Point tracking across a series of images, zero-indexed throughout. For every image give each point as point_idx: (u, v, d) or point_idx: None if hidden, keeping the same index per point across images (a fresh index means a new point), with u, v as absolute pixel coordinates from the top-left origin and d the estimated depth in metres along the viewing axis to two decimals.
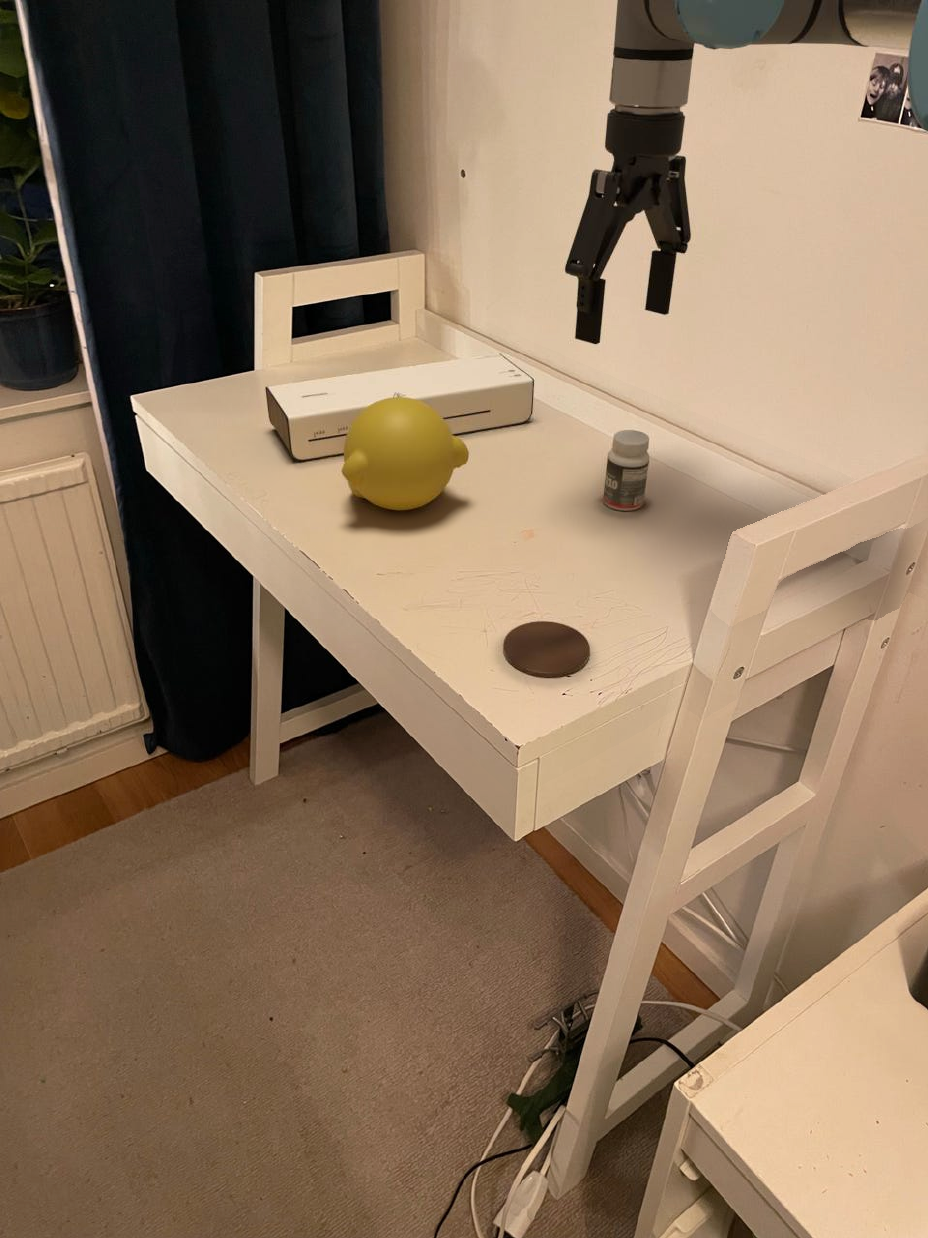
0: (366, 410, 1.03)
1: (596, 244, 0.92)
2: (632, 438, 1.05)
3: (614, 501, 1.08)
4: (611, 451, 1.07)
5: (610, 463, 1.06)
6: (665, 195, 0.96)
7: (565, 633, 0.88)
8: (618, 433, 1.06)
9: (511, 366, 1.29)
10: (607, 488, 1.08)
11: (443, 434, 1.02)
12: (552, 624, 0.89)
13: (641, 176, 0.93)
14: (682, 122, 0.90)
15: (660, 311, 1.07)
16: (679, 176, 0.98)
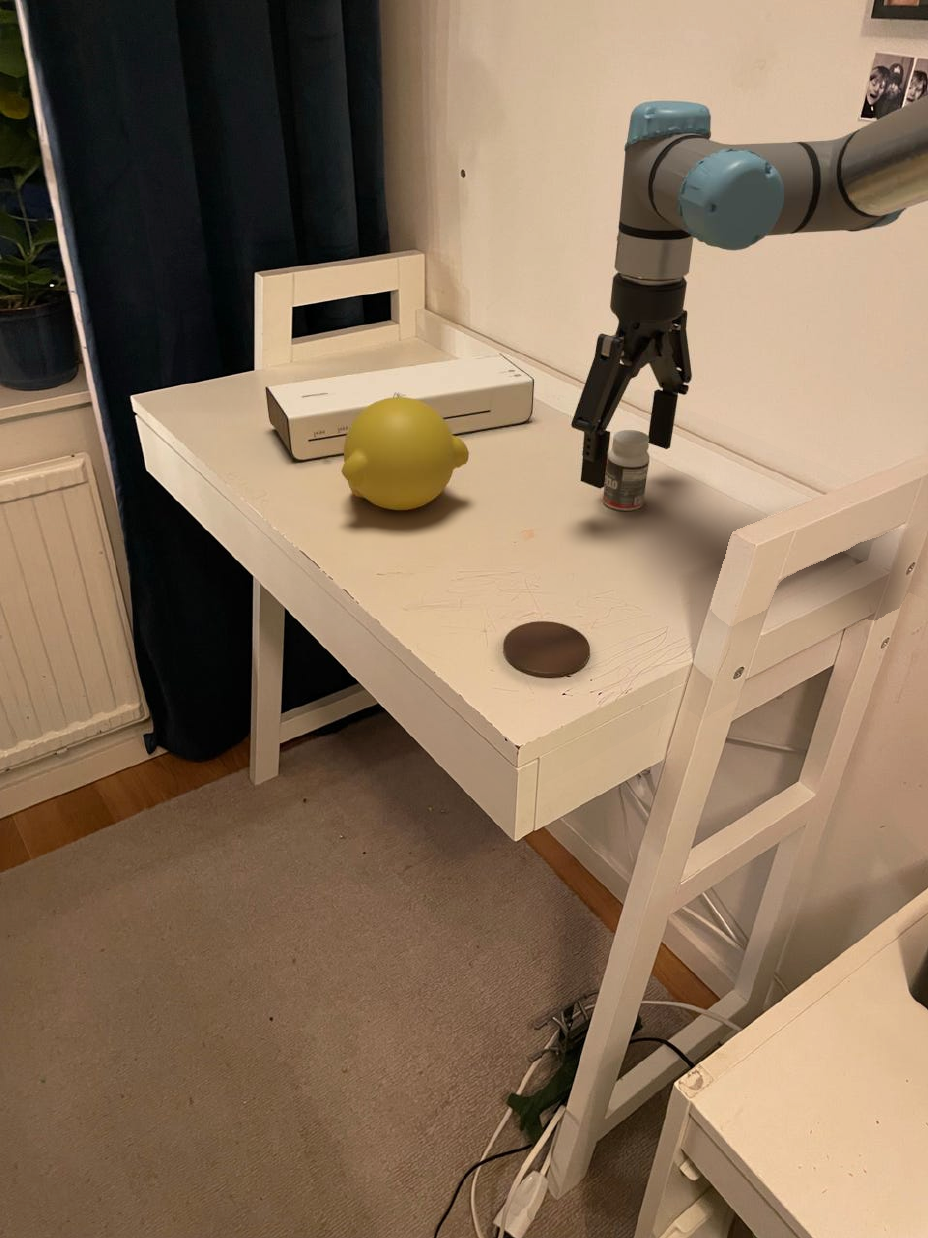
0: (366, 410, 1.03)
1: (601, 404, 0.96)
2: (632, 438, 1.05)
3: (614, 501, 1.08)
4: (611, 451, 1.07)
5: (610, 463, 1.06)
6: (667, 349, 1.01)
7: (565, 633, 0.88)
8: (618, 433, 1.06)
9: (511, 366, 1.29)
10: (607, 488, 1.08)
11: (443, 434, 1.02)
12: (552, 624, 0.89)
13: (644, 336, 0.97)
14: (684, 290, 0.94)
15: (662, 445, 1.11)
16: (681, 328, 1.02)
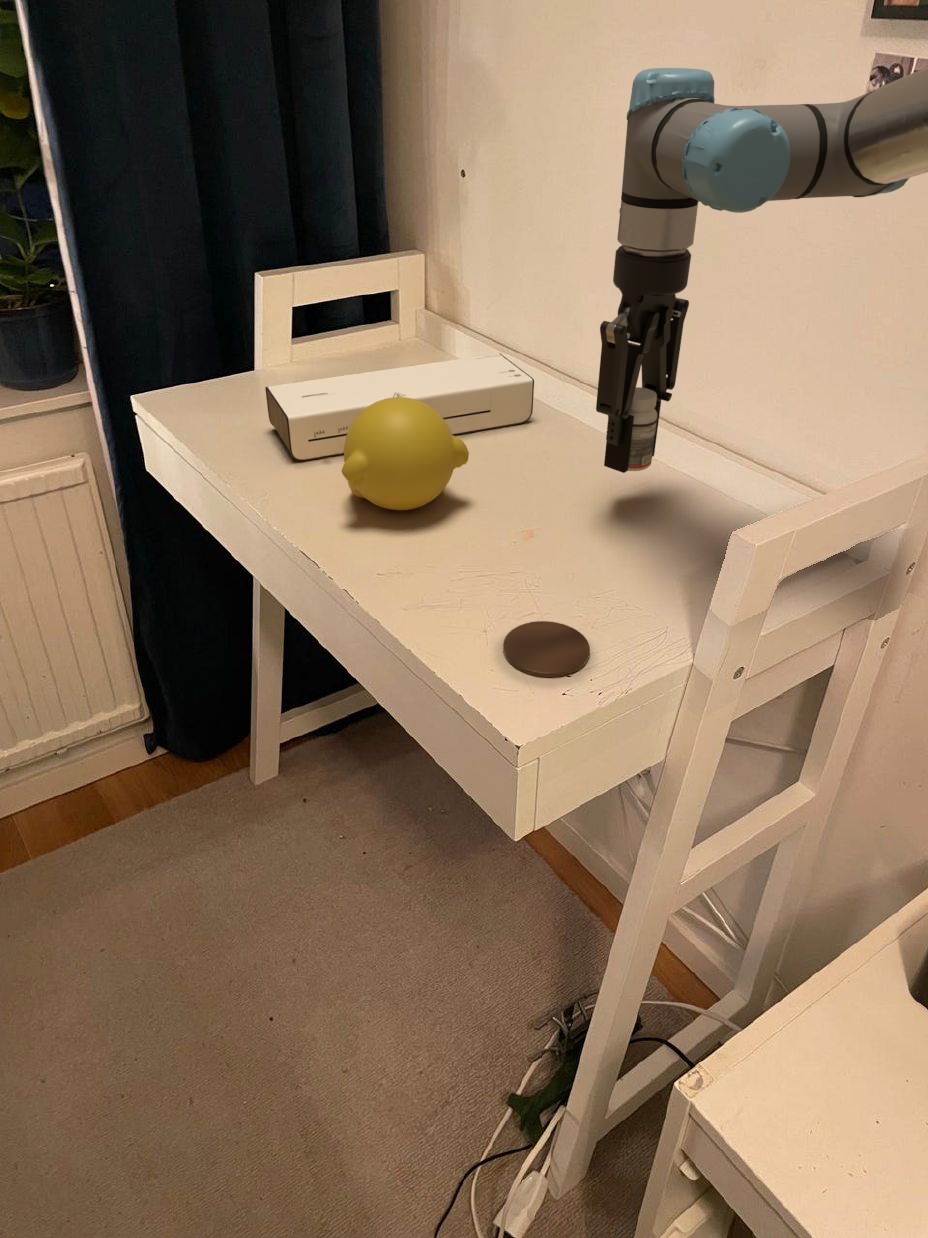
0: (366, 410, 1.03)
1: (620, 388, 0.97)
2: (639, 395, 1.02)
3: None
4: None
5: None
6: (667, 330, 0.99)
7: (565, 633, 0.88)
8: None
9: (511, 366, 1.29)
10: None
11: (443, 434, 1.02)
12: (552, 624, 0.89)
13: (647, 313, 0.95)
14: (688, 261, 0.93)
15: None
16: (680, 316, 1.01)
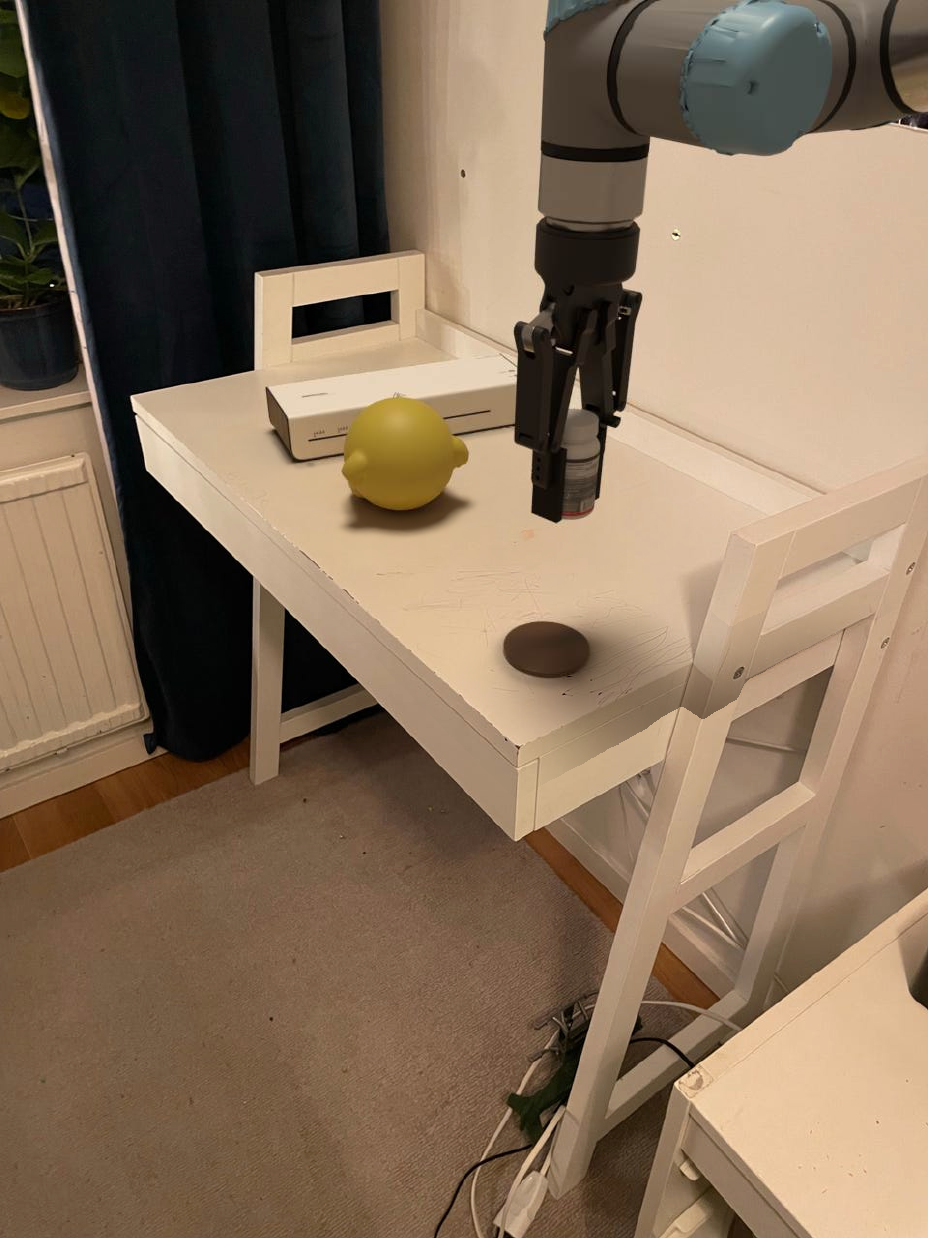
0: (366, 410, 1.03)
1: (544, 413, 0.71)
2: (574, 420, 0.76)
3: None
4: None
5: None
6: (610, 334, 0.72)
7: (565, 633, 0.88)
8: None
9: (511, 366, 1.29)
10: None
11: (443, 434, 1.02)
12: (552, 624, 0.89)
13: (580, 310, 0.69)
14: (636, 239, 0.66)
15: None
16: (630, 315, 0.74)
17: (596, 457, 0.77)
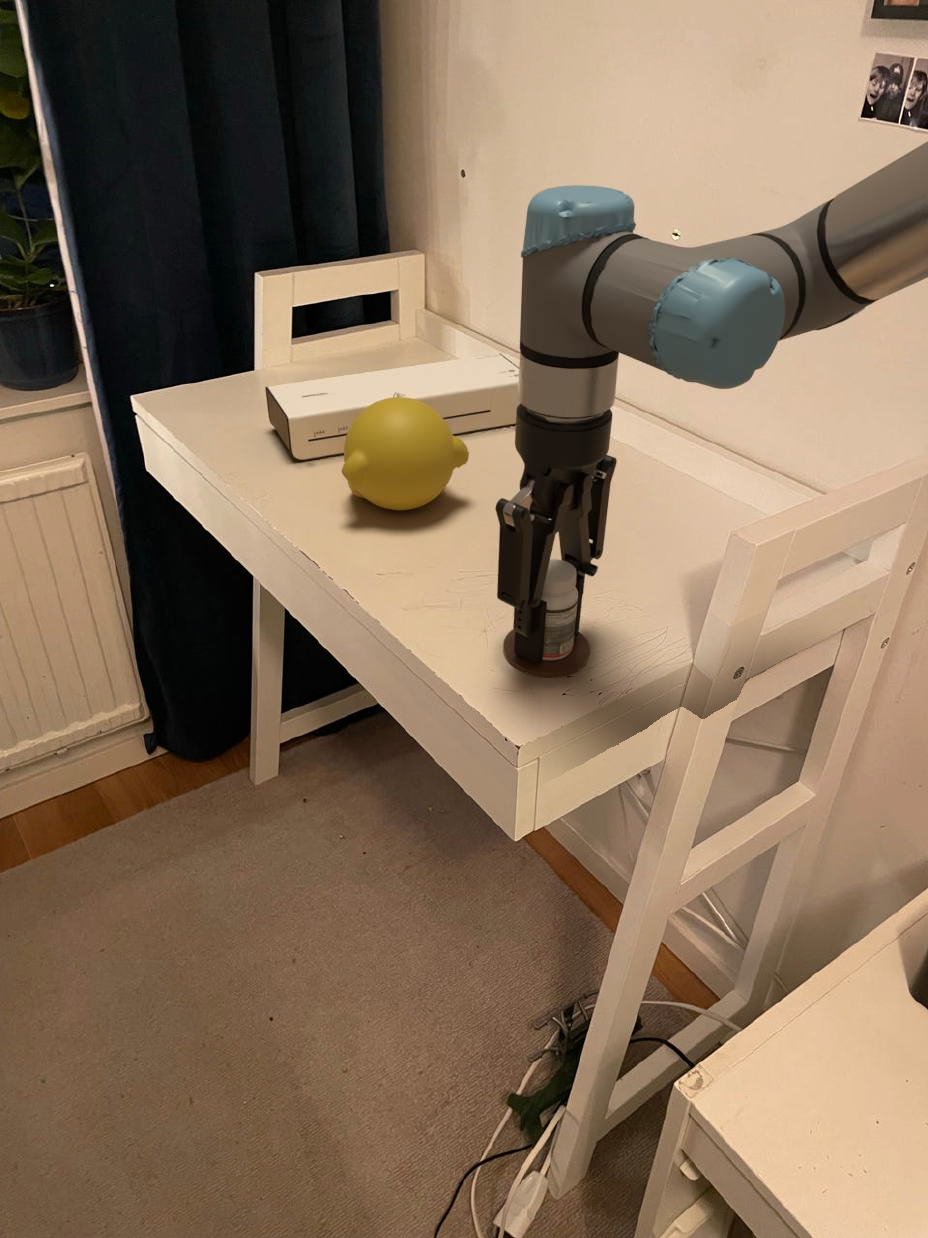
0: (366, 410, 1.03)
1: (524, 577, 0.76)
2: (554, 573, 0.81)
3: None
4: None
5: None
6: (586, 500, 0.78)
7: None
8: None
9: (511, 366, 1.29)
10: None
11: (443, 434, 1.02)
12: None
13: (557, 486, 0.74)
14: (608, 426, 0.72)
15: None
16: (605, 478, 0.80)
17: (574, 606, 0.82)
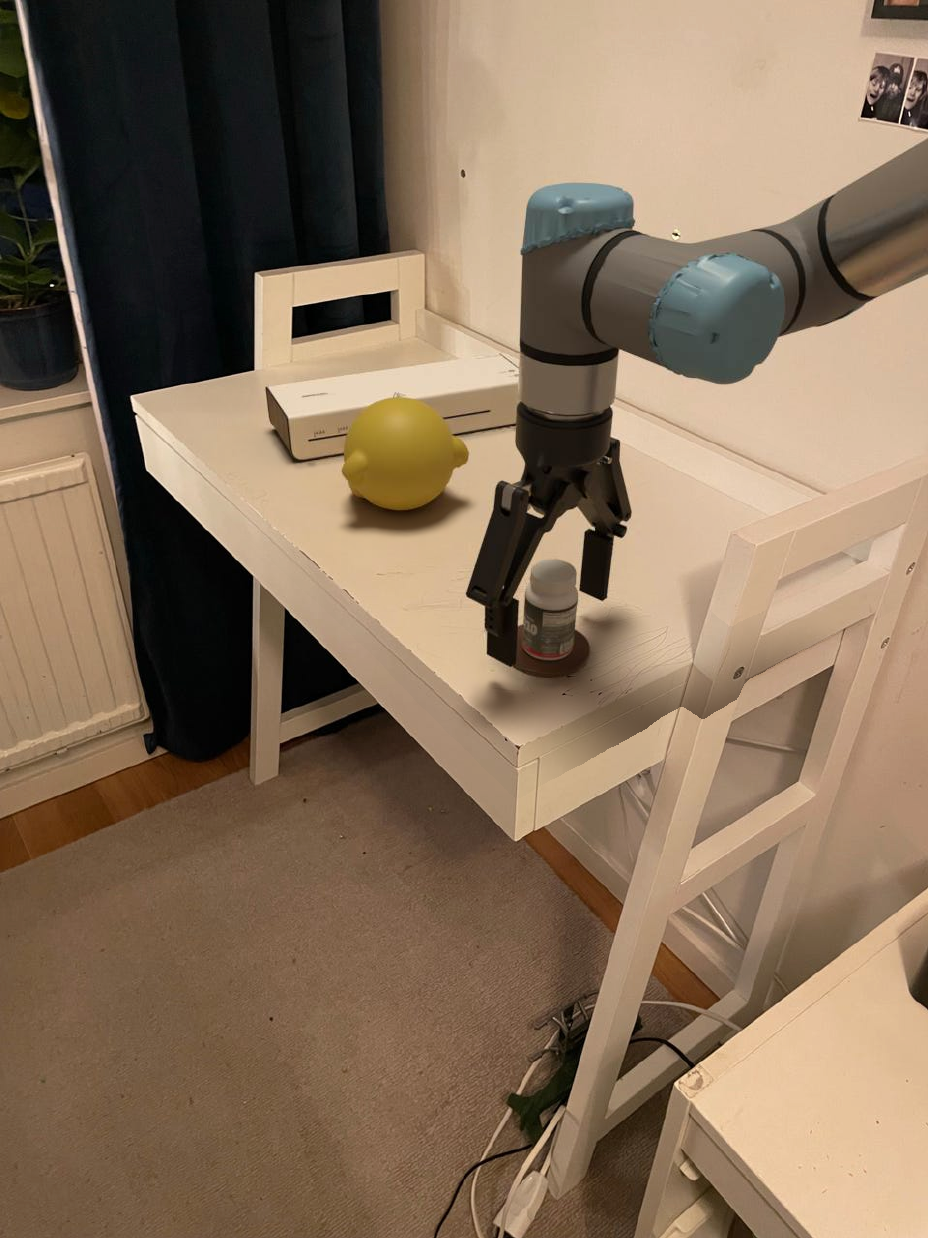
0: (366, 410, 1.03)
1: (503, 571, 0.73)
2: (554, 573, 0.81)
3: (534, 649, 0.84)
4: (529, 587, 0.83)
5: (527, 603, 0.82)
6: (594, 490, 0.78)
7: None
8: (537, 564, 0.82)
9: (511, 366, 1.29)
10: (525, 632, 0.84)
11: (443, 434, 1.02)
12: None
13: (560, 480, 0.74)
14: (608, 424, 0.72)
15: (596, 596, 0.88)
16: (612, 461, 0.79)
17: (574, 606, 0.82)
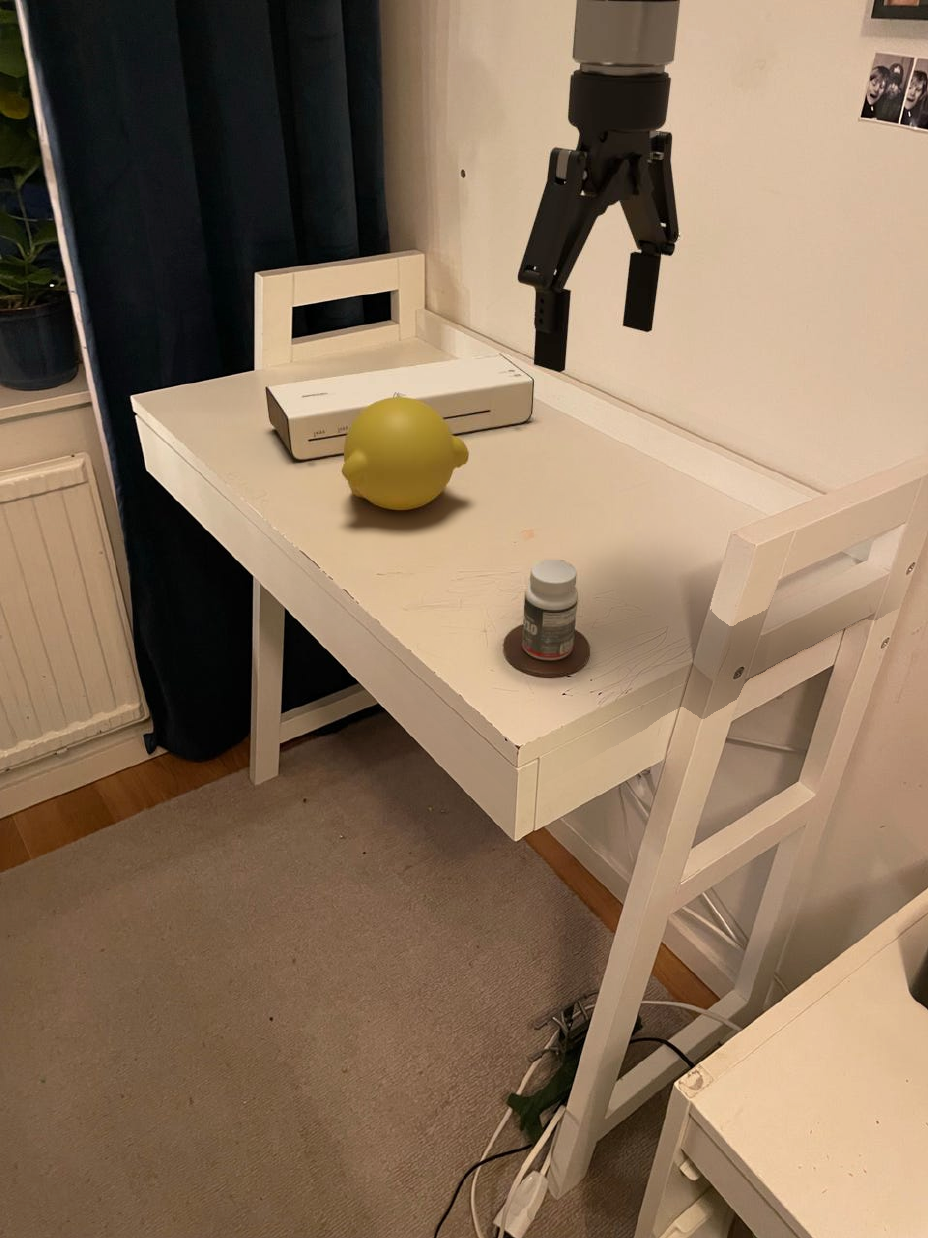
0: (366, 410, 1.03)
1: (557, 245, 0.70)
2: (554, 573, 0.81)
3: (534, 649, 0.84)
4: (529, 587, 0.83)
5: (527, 603, 0.82)
6: (646, 182, 0.75)
7: None
8: (537, 564, 0.82)
9: (511, 366, 1.29)
10: (525, 632, 0.84)
11: (443, 434, 1.02)
12: None
13: (615, 157, 0.72)
14: (667, 86, 0.69)
15: (641, 327, 0.86)
16: (664, 158, 0.77)
17: (574, 606, 0.82)
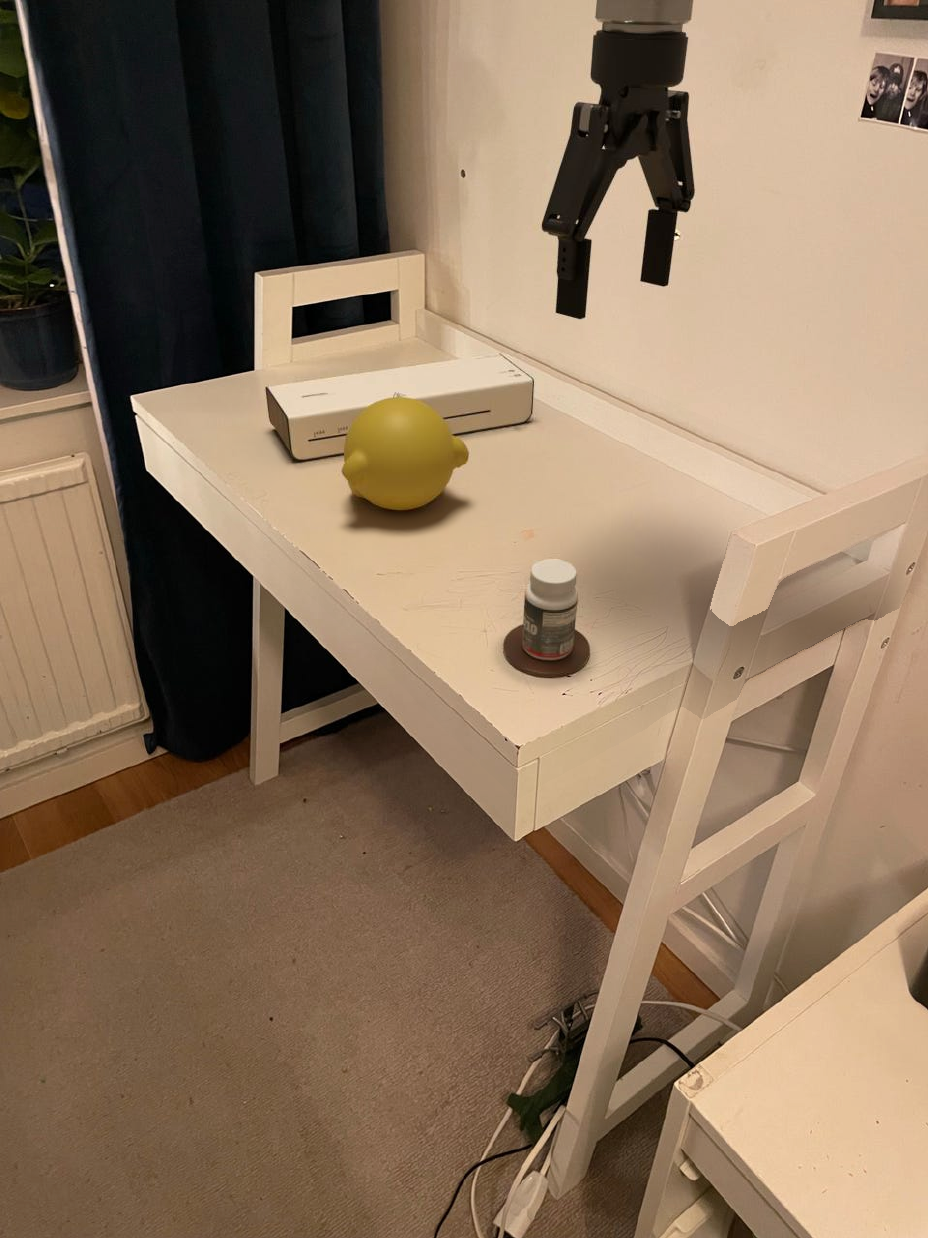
0: (366, 410, 1.03)
1: (580, 195, 0.75)
2: (554, 573, 0.81)
3: (534, 649, 0.84)
4: (529, 587, 0.83)
5: (527, 603, 0.82)
6: (664, 138, 0.80)
7: None
8: (537, 564, 0.82)
9: (511, 366, 1.29)
10: (525, 632, 0.84)
11: (443, 434, 1.02)
12: None
13: (634, 112, 0.76)
14: (685, 44, 0.73)
15: (658, 282, 0.90)
16: (681, 116, 0.81)
17: (574, 606, 0.82)
